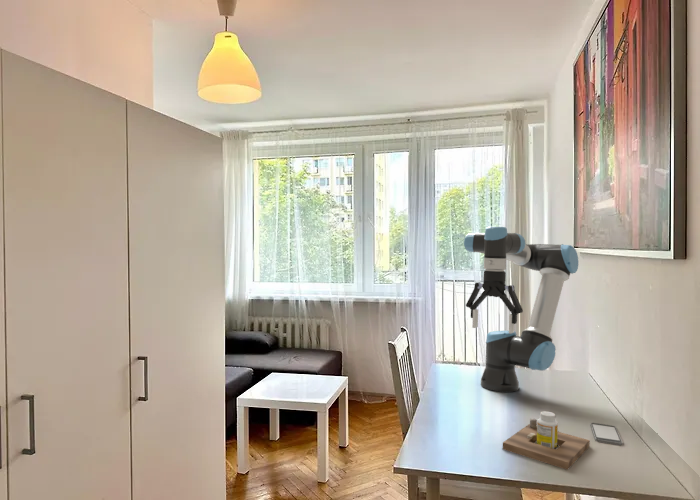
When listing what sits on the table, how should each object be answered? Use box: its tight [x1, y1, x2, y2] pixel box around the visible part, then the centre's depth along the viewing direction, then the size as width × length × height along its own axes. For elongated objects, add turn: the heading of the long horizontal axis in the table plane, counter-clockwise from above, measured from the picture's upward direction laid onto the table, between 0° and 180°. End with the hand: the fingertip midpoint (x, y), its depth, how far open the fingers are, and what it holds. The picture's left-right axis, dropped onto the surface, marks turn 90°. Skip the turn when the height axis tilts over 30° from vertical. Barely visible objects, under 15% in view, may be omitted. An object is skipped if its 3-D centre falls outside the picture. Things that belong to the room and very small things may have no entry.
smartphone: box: [590, 422, 624, 446], centre depth 154 cm, size 7×1×15 cm
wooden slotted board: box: [502, 418, 591, 471], centre depth 142 cm, size 20×18×4 cm
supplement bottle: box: [536, 410, 559, 449], centre depth 142 cm, size 6×6×10 cm
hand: (492, 330), depth 172 cm, fingers open, 13 cm apart
